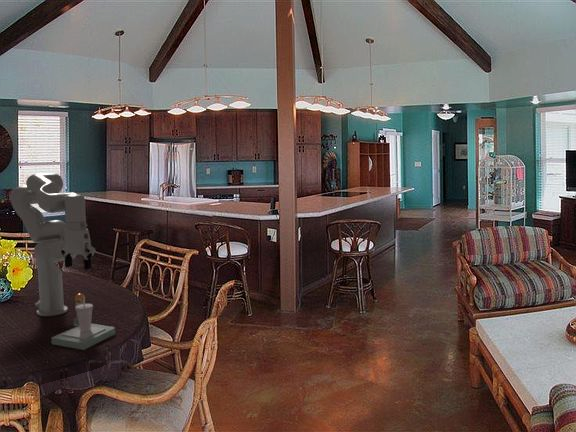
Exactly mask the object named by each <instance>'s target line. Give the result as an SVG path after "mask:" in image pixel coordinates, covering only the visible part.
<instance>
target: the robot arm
mask: <svg viewBox="0 0 576 432" xmlns="http://www.w3.org/2000/svg"><path fill="white" fill-rule="evenodd" d="M63 187H64V181H63V178H62V176H61V175H60V174H58V173H55V172H51V173H50V172H48V173H45V172H44V173H33V174H31V175H29V176H28V178H27V179H26V182H25V185H20V186H17V187H16V186H15V188H13V189H12V190H11V191H10V195H9V197H10V203H11V206H12V208H13V210H14V211H15V213H16V214H17V216H18V217H19V218H20V219H21V220H22V222H23V224H24V227H25V229H26V230H27V233H28V235H29V237H30V240H31V241H32V242H33V243H35V247H34V249H33V256H34V259H35V262H36V267H37V269H36V270H37V278H38V279H37V280H38V295H39V300H37V301H36V302H34V306H35V307H38V309H37V310H36V315H37V316H39V317H55V316H60V315H63V314H65V313H67V312H68V311H69V309H68V308H69V307H68V306H66V305H65V304H64V303H65V302H64V287H63V286H64V285H63V272H62V269H61V267H59V266H58V265H57V264H56V263H58V262H64V265H65V266H64V268H70V267H72V266H73V259H75V258H76V257H77V256H78V255H79V256H83V259H84V260H83V269H84V270H85V271H87V270H89V269H92V259H93V257H94V256H95V253H96V248H95V247H93V246H92V241H91V237H90V236H91V235H90V231H89V229H88V228H87V227H88V223H87V217H86V213H87V212H86V199H85V196H84V195H83V194H78V193H76V192H73V191H72V192H62V190H63ZM36 204H37V205H38V207H39V208H40V209H41V210H43V211H44V212H47V213H50V214H55V213H60V212H61V213H62V212H63V213H64V216H65V217H64V218H65V221H63V220H60V219H54V220H46V218H45V217H44V215H43V213H42V211H41V210H39V209H38V208H37V207H35V206H34V205H36ZM32 205H33V206H32Z"/></svg>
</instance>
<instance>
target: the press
mask: <svg viewBox="0 0 576 432" xmlns="http://www.w3.org/2000/svg"><path fill="white" fill-rule="evenodd" d="M76 326H77V327H76ZM115 335H116V328H115V326H109V325H103V324H97V323H91V330H90V331H89V332H81V331H80V327H79V324H74V323H73V327H72V328H69V330H65V331H63V332H60V333H59V334H56V335H54V336H52V337H51V344H52V345H54V346H55V345H56V346H61V347H67V348H71V349H76V350H83V351H85V350H87V349H88V348H91V347H93V346H94V345H95V346H96V344H98V343H100V342H102V341H105V340H107V339H108V338H110V337H113V336H115Z"/></svg>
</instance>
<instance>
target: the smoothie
mask: <svg viewBox="0 0 576 432" xmlns="http://www.w3.org/2000/svg"><path fill="white" fill-rule="evenodd" d="M93 309H94V305H93V304H92V303H86V296H85V294H83V304H80V305H77V306H76V305H75V312H76V311H77V316H78V321H79V327H80V331H81V332H89V331H90V330H91V324H92V319H93V318H92V316H93Z"/></svg>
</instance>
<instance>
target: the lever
mask: <svg viewBox="0 0 576 432" xmlns="http://www.w3.org/2000/svg"><path fill="white" fill-rule="evenodd" d="M83 295H84V293H78V294H76V295H75V296H74V301H75V307H76V306H77V305H80V304H83ZM75 316H76V317H75V318H73V325H74V324H79V321H78V316H77V311H76V310H75Z"/></svg>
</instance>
